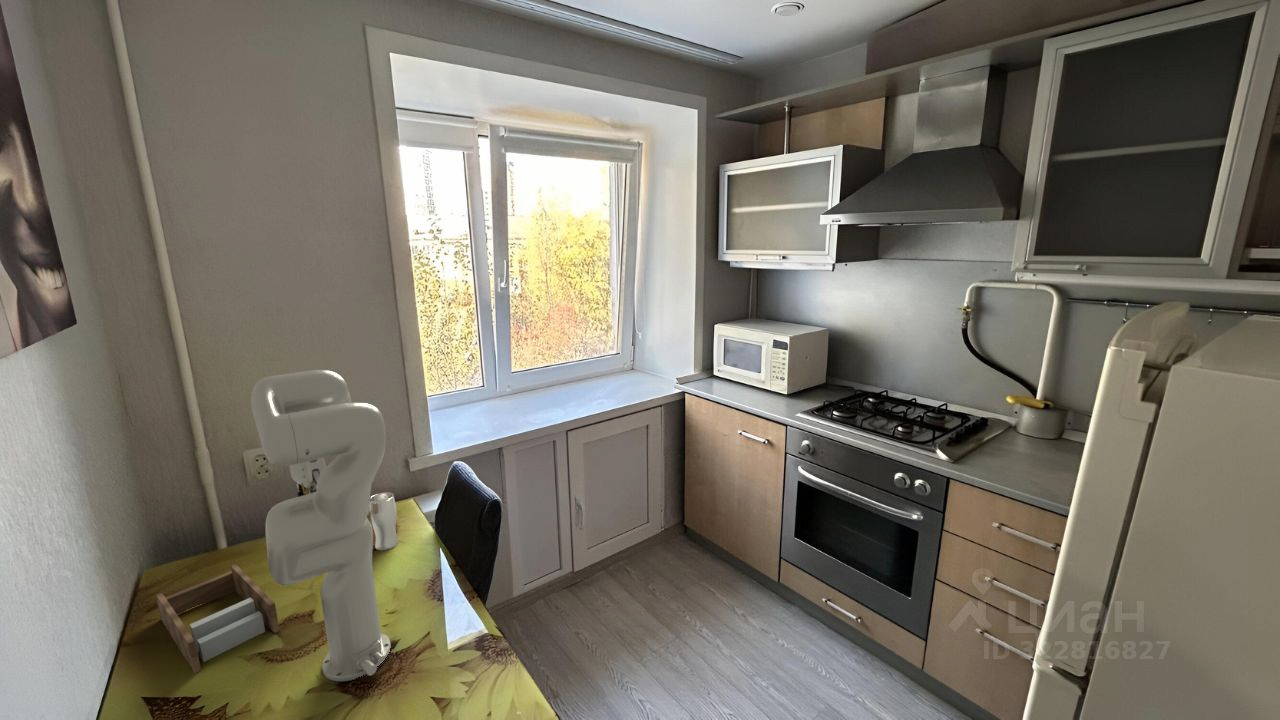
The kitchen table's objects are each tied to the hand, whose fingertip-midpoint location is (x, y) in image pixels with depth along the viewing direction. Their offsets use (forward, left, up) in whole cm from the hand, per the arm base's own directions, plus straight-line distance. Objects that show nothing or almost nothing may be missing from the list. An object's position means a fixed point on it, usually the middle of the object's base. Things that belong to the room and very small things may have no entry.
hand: (312, 508), depth 126 cm
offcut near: (+1, +20, -23) cm, 30 cm away
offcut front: (-3, +20, -23) cm, 31 cm away
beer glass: (+8, -20, -23) cm, 31 cm away
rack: (+6, +20, -23) cm, 31 cm away
